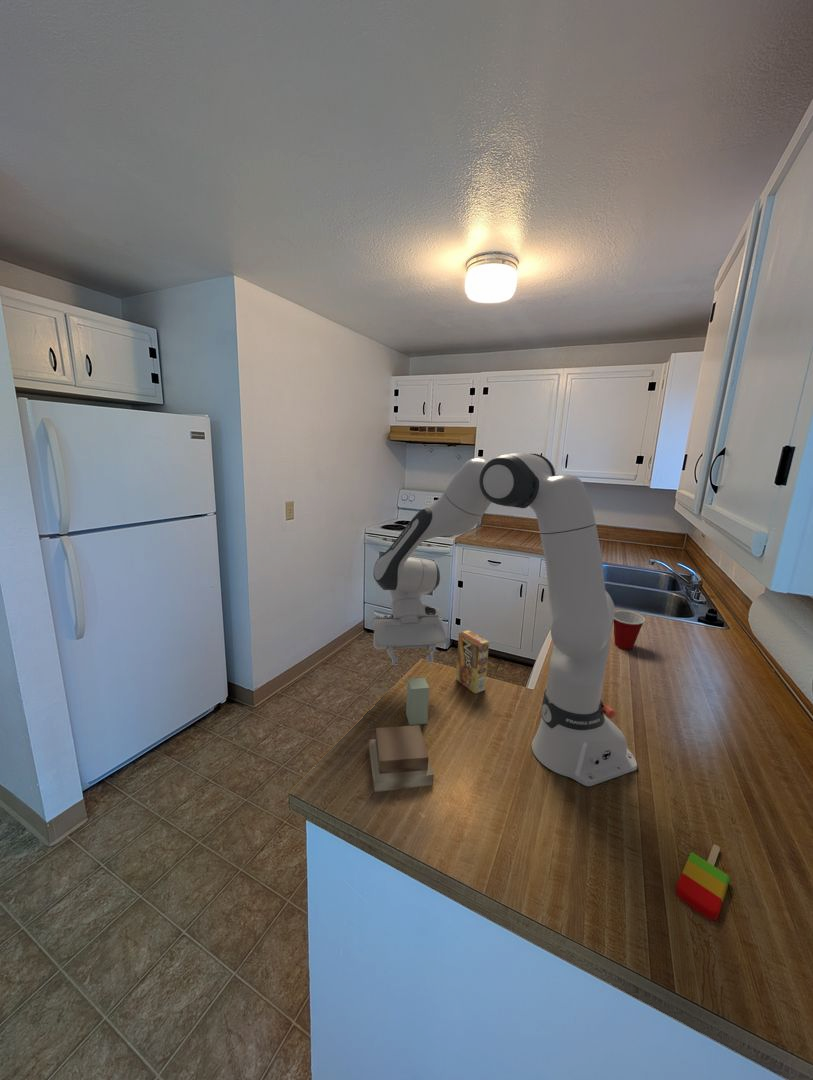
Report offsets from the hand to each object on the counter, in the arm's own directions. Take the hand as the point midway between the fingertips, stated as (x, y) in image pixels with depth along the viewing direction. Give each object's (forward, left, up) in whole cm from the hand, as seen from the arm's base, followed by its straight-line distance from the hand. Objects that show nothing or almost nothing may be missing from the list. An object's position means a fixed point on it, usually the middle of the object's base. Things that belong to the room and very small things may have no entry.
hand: (413, 663), depth 108 cm
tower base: (+7, +22, -12) cm, 26 cm away
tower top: (+7, +21, -9) cm, 24 cm away
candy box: (-19, -6, -12) cm, 23 cm away
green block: (0, +7, -11) cm, 13 cm away
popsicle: (-39, +53, -12) cm, 67 cm away
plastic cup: (-84, -23, -12) cm, 88 cm away
